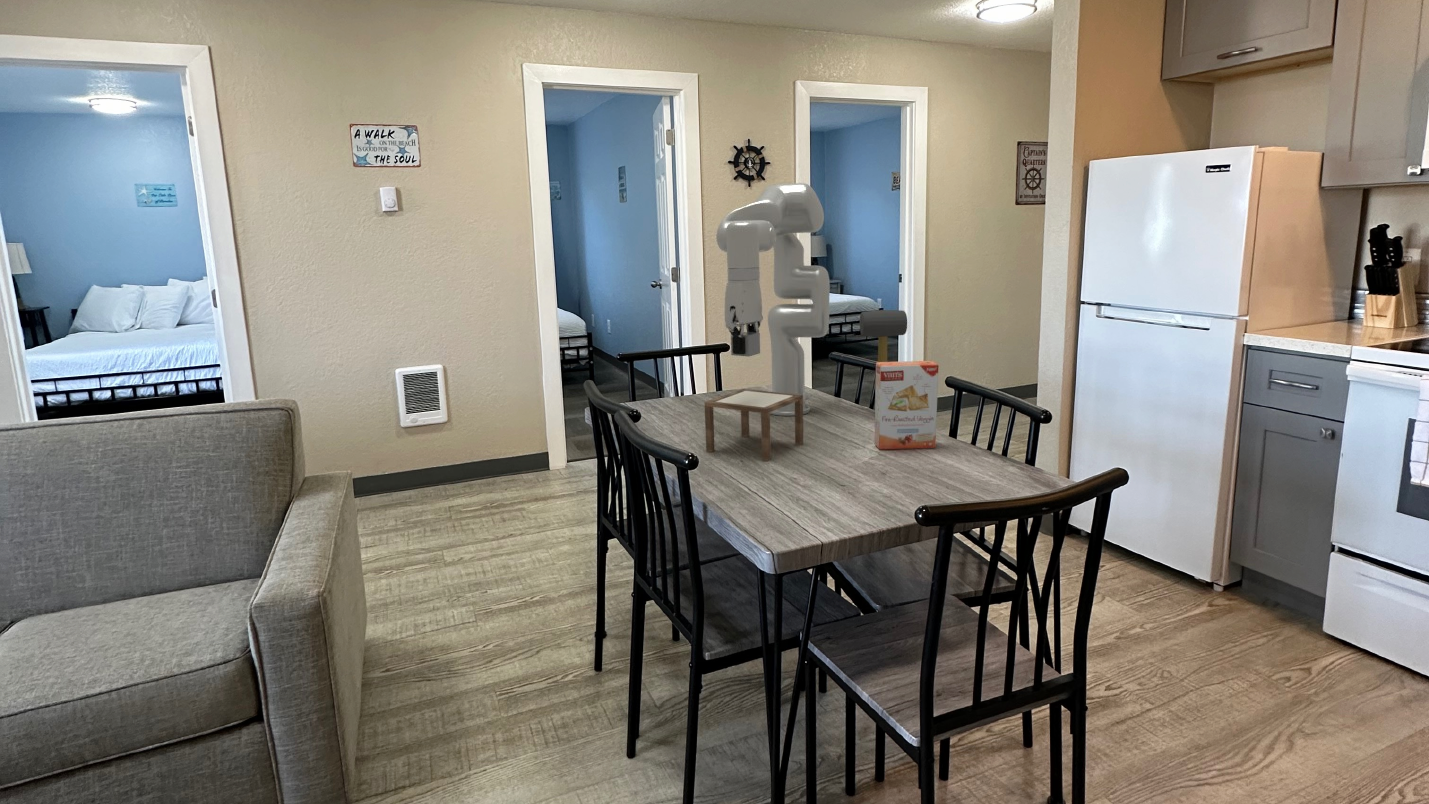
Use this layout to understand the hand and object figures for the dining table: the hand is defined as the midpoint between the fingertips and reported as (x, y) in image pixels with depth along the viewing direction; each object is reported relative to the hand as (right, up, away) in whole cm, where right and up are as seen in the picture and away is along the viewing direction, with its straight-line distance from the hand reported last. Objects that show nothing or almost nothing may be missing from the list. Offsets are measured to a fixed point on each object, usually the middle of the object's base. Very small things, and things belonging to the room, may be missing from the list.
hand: (745, 351), depth 194 cm
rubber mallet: (+40, -16, +37) cm, 57 cm away
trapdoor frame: (+3, -23, +8) cm, 25 cm away
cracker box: (+39, -23, +4) cm, 46 cm away
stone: (0, -1, 0) cm, 1 cm away
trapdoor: (+2, -12, +6) cm, 14 cm away
